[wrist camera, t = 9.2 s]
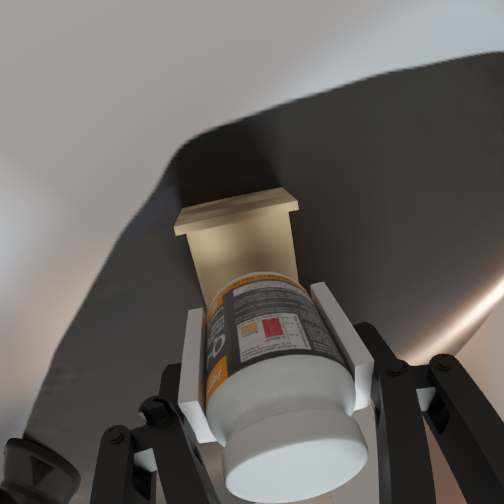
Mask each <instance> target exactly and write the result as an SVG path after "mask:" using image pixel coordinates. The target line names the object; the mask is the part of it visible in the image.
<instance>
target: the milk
mask: <svg viewBox="0 0 504 504" xmlns="http://www.w3.org/2000/svg"><path fill="white" fill-rule="evenodd" d="M351 417H353V418H354V419H355V420H356V421H357V422H358V424H359V426H360V429H361V431H362V434H363V436H364V439H365V441H366V444H367V447H368V459H367V462H366V464H365V465H364V466H363V468H362V469H361V470H360V471H359V472H358V473H357V474H356V475H355V476H354V477H353V478H351V479H350V480H349V481H347V482H346V483H344V484H343V485H341V486H339V487H337V488H335V489H333V490H331V491H330V492H331V496H332V499H333V502H334V504H379V476H378V455H377V440H376V427H375V422H373V417H374V411H373V409H372V407H371V405H370V406H368V407H365V408H362V409H359V410H355V411H353V413H352V415H351Z"/></svg>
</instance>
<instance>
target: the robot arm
mask: <svg viewBox="0 0 504 504" xmlns="http://www.w3.org/2000/svg"><path fill="white" fill-rule="evenodd" d="M310 288H311V297H312V301H313V303H314V305H315V307H316V309H317V311H318V313H319V315H320V316H321V318H322V320H323V322H324V324H325V326H326V328H327V330H328V332H329V334H330V335H331V337H332V339H333V341H334V343H335V345H336V347H337V349H338V351H339V353H340V354H341V356H342V358H343V360H344V362H345V364H346V366H347V368H348V370H349V372H350V373H351V375H352V378H353V381H354V385H355V389H356V402H355V407H354V410H353V411H355V410H359V409H362V408H365V407H368V406H370V403H371V398H372V400H373V402H374V404H375V410H374V417H373V422H375V427H376V440H377V455H378V476H379V504H436V496H435V488H434V480H433V473H432V467H431V460H430V454H429V448H428V443H427V437H426V432H425V427H424V422H423V417H422V415H423V416H424V418H425V420H426V422H427V424H428V426H429V428H430V430H431V431H432V433H433V435H434V437H435V439H436V441H437V443H438V445H439V447H440V449H441V451H442V453H443V454H444V457H445V458H446V460H447V462H448V464H449V466H450V469H451V471H452V473H453V475H454V477H455V479H456V481H457V483H458V485H459V487H460V489H461V491H462V494H463V496H464V498H465V500H466V502H467V504H504V422H503V421H502V420H501V418H500V417H499V415H498V414H497V412H496V411H495V410H494V408H493V407H492V405H491V404H490V403H489V401H488V400H487V398H486V397H485V395H484V394H483V393H482V391H481V390H480V389H479V387H478V386H477V385H476V383H475V382H474V381H473V379H472V378H471V377H470V375H469V374H468V373H467V372H466V370H465V369H464V368H463V366H462V365H461V364H460V362H459V361H458V360H457V359H456V358H455V357H454V356H452V355H449V354H438V355H436V356H434V357H432V359H431V360H430V362H429V364H428V365H419V366H410V365H409V364H408V363H407V362H405V361H403V360H400V359H397V358H396V356H395V355H394V354H393V352H392V351H391V349H390V348H389V346H388V345H387V344H386V342H385V341H384V340H383V338H382V337H381V335H379V333H378V331H377V330H376V328H375V327H374V326H372V325H371V324H369V323H367V322H363V323H359V324H356V325H352V324H351V323H350V321H349V320H348V318H347V316H346V315H345V313H344V312H343V310H342V309H341V307H340V306H339V304H338V303H337V301H336V300H335V298H334V296H333V295H332V293H331V292H330V290H329V289H328V287H327V286H326V284H325V283H324V282H320V283H316V284H312V285H310ZM206 352H207V321H206V317H205V314H204V311H203V308H199V309H194V310H189V312H188V319H187V327H186V334H185V342H184V350H183V358H182V363H178V364H171V365H167V367H166V368H165V370H164V371H163V373H162V378H161V384H160V390H159V395H158V396H153V397H150V398H148V399H146V400H145V401H144V402H143V403H142V404H141V406H140V408H139V414H140V415H141V417H142V418H143V420H144V421H145V423H146V425H144V426H141V427H139V428H136V429H133V430H129V429H128V428H127V427H125V426H123V425H116V426H112V427H110V428H109V429H107V430H106V431H105V432H104V434H103V436H102V439H101V444H100V448H99V453H98V458H97V464H96V469H95V475H94V480H93V486H92V492H91V499H90V504H156V473H157V470H158V473H159V477H160V481H161V485H162V488H163V492H164V495H165V499H166V502H167V504H220V501H219V499H218V497H217V494H216V492H215V490H214V487H213V485H212V483H211V480H210V478H209V475H208V473H207V470H206V468H205V465H204V463H203V460H202V458H201V455H200V452H199V450H198V449H197V447H196V438H197V440H198V441H199V443H205V442H214V441H217V440H216V438H215V437H214V436H213V434H212V433H211V431H210V429H209V426H208V422H207V418H206ZM80 482H81V477H80V475H79V473H78V472H77V471H76V470H75V469H74V468H73V467H72V466H71V465H70V464H69V463H68V462H66V461H65V460H64V459H62V458H61V457H59V456H58V455H56V454H54V453H53V452H51V451H49V450H47V449H46V448H44V447H42V446H39V445H37V444H35V443H32V442H30V441H27V440H24V439H19V438H11V439H9V440H8V441H7V444H6V446H5V448H4V464H3V479H2V482H1V485H0V504H68V503H69V501H70V499H71V498H72V496H73V495H74V494H75V493H76V492H77V491H78V489H79V486H80Z"/></svg>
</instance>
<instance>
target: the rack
mask: <svg viewBox="0 0 504 504" xmlns="http://www.w3.org/2000/svg"><path fill="white" fill-rule="evenodd" d="M294 210H299V208H298V201H297V200H296V199H295V198H294V197H293V196H291V195H290V194H289V193H288V192H287V191H286V190H284V189H283V188H282V187H280V188H275V189H270V190H265V191H260V192H255V193H250V194H245V195H240V196H235V197H230V198H226V199H221V200H216V201H212V202H207V203H203V204H199V205H194V206H190V207H185V208H182V210H181V212H180V214H179V216H178V219H177V221H176V223H175V225H174V230H175V233H176V236H177V235H181V234H186V235H187V239H188V242H189V246H190V250H191V253H192V257H193V261H194V264H195V268H196V271H197V275H198V279H199V282H200V286H201V289H202V292H203V296H204V299H205V303H206V306H207V317H208V312H209V308H210V305H211V303H212V301H213V299H214V298H215V296H216V295H217V293H218V292H219V291H220V290H221V289H222V288H223V287H224V286H225V285H226V284H227V283H228V282H230V281H233V280H234V279H236V278H238V277H240V276H243V275H245V274H249V273H253V272H276V273H280V274H283V275H286V276H288V277H290V278H292V279H294V280H295V281H297V282H298V283H299V281H298V274H297V267H296V260H295V253H294V246H293V239H292V233H291V226H290V220H289V213H288V212H289V211H294Z"/></svg>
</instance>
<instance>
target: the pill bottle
mask: <svg viewBox="0 0 504 504" xmlns="http://www.w3.org/2000/svg"><path fill="white" fill-rule="evenodd" d="M355 402H356V389H355V385H354V381H353V378H352V375H351V373H350V372H349V370H348V368H347V366H346V364H345V362H344V360H343V358H342V356H341V354H340V353H339V351H338V349H337V347H336V345H335V343H334V341H333V339H332V337H331V335H330V334H329V332H328V330H327V328H326V326H325V324H324V322H323V320H322V318H321V316H320V315H319V313H318V311H317V309H316V307H315V305H314V303H313V301H312V300H311V298H310V296H309V295H308V293H307V292H306V290H305V289H304V288H303V287H302V286H301V285H300V284H299V283H298V282H297V281H295V280H294V279H292V278H290V277H288V276H286V275H283V274H280V273H276V272H253V273H249V274H245V275H243V276H240V277H238V278H236V279H234V280H233V281H230V282H228V283H227V284H226V285H225V286H224V287H223V288H222V289H221V290H220V291H219V292H218V293H217V295H216V296H215V298H214V299H213V301H212V303H211V305H210V308H209V312H208V317H207V352H206V418H207V422H208V426H209V429H210V431H211V433H212V434H213V436H214V437H215V438H216V440H217V441H218V442H219V443H220V444H221V445H222V446H223V447H225V448H224V450H223V454H222V463H223V475H224V482H225V485H226V487H227V489H228V490H229V491H230V492H231V493H233V494H234V495H235V496H237V497H240V498H242V499H245V500H248V501H253V502H259V503H285V502H294V501H299V500H304V499H308V498H312V497H315V496H318V495H321V494H324V493H326V492H328V491H331V490H333V489H335V488H337V487H339V486H341V485H343V484H344V483H346V482H347V481H349V480H350V479H351V478H353V477H354V476H355V475H356V474H357V473H358V472H359V471H360V470H361V469H362V468H363V466H364V465H365V464H366V462H367V459H368V447H367V444H366V441H365V439H364V436H363V434H362V431H361V429H360V426H359V424H358V422H357V421H356V420H355V419H354V418H353V417H351V415H352V413H353V410H354V407H355Z"/></svg>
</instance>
